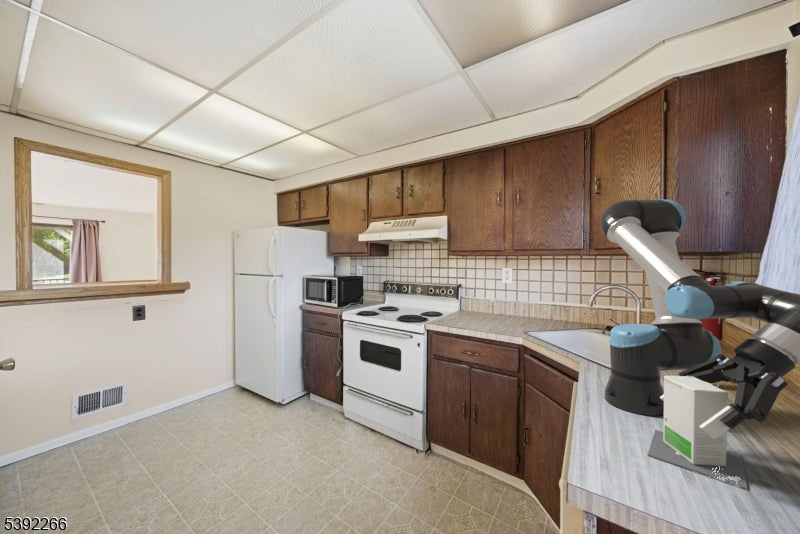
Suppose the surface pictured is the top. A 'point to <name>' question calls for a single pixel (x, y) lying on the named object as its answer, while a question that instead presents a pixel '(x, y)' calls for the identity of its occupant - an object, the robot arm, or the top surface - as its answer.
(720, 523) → the top surface
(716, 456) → the skincare box
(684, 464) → the mat
